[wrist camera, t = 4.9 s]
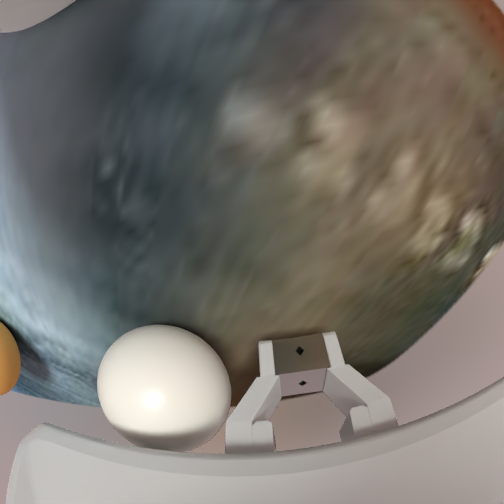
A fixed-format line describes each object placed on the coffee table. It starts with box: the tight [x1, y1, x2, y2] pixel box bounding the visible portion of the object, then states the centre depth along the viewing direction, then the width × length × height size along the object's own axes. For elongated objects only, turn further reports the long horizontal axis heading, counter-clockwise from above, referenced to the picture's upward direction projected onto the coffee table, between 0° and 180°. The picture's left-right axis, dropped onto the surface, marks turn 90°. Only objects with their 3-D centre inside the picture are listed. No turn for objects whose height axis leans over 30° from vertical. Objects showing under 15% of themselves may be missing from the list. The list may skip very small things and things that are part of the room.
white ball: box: [97, 325, 231, 452], centre depth 10 cm, size 6×6×6 cm
